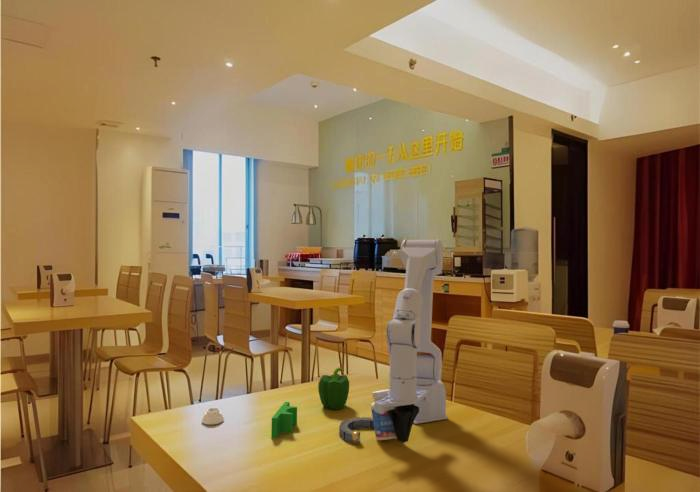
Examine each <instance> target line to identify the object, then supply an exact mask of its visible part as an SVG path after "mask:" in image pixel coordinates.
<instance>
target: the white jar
mask: <svg viewBox="0 0 700 492" xmlns="http://www.w3.org/2000/svg"><path fill="white" fill-rule="evenodd" d="M224 421H225V417H224V415H223V413H222V411H221V409H220V408H218V407H210V408H207V409H206V411H205V413H204V414H203V417H202V418H201V423H202V424H204V425H208V426H214V425H217V424H221V423H223V422H224Z"/></svg>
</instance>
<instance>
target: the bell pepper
mask: <svg viewBox="0 0 700 492" xmlns="http://www.w3.org/2000/svg"><path fill="white" fill-rule="evenodd" d="M341 371H343V367H340V366H339V367H337V368H335V370H334V371H333V374H331V375H327V374H324V375H321V377H320V379H319V381H318V382H317V383H318V395H319V399H320V402H321V404H322V406H323V408H327V409H333V410H342V409H344V408H345V405H346V403H347V401H348V398H349V392H350V380H349V378H348V376H347V374H342V375H341V374H339V373H338V372H341Z"/></svg>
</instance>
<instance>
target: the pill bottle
mask: <svg viewBox="0 0 700 492" xmlns="http://www.w3.org/2000/svg"><path fill="white" fill-rule="evenodd" d="M371 393H372V394H371V395H372V399H373V400H374V401H372V403H371V405H370V407H371V408H370V409H371V415H372V418H373V423H374V429H373V430H374V435H375V439H376V440H379V441H386V440H392V439H393V440H394V439H397V437H396V432H395V428H394V425H393V422H392V420H391V417H390V415H389V413H388V412H387V411H385V412H384V413H383V414H379V413H377V412H375V411H374V404H375V402H377V401H379V400H381V399H383V398H385V397H386V396H387V393H389V389H380V390H375V391H372V392H371Z"/></svg>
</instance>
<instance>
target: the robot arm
mask: <svg viewBox="0 0 700 492" xmlns="http://www.w3.org/2000/svg"><path fill="white" fill-rule="evenodd" d="M400 260H401V262H402V264H403V267H404V269H405V277H404V289H402V290H400V291H399V292H398V294H397V298H396V302H395V306H394V311H393V316H392V319H391V320H389V321H388V322H387V323H386V329H385V330H386V331H385V339H386V344H387V354H389V382H388V383H389V393H387V396H386V397H385V398H383V399H381V400H379V401H377V402H375V404H374V411H375V412H377V413H379V414H383V413H384V412H385V411H387V412H388V413H389V415H390V417H391V420H392V422H393V425H394V428H395V432H396V437H397V438H396V440H397V441H399V442H401V443H407V442H408V441H409V438H410V434H411V431H412V429H413V425H414V424H416V425H418V424H424V423H430V422H436V421H443V420H447V419H448V418H449V417H448V416H447V391H446V390H447V389H446V386H445V384H444V382H443V381H442V380H441V379H442V373H443V359H442V358H443V357H442V355H443V353H442V351H441V349H440V348H439V347H438V346H437V345H436V344H435V343H433V342H432V326H433V325H432V322H433V319H432V318H433V299H434V297H433V295H434V283H435V278H436V276H438V275H441V274H442V272H443V271H442V270H443V268H444V266H443V265H444V264H443V263H444V245H443V241H441V239H440V238H437V239H407V238H405V239H403V241H402V242H401V244H400ZM422 353H427V354H422Z"/></svg>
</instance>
